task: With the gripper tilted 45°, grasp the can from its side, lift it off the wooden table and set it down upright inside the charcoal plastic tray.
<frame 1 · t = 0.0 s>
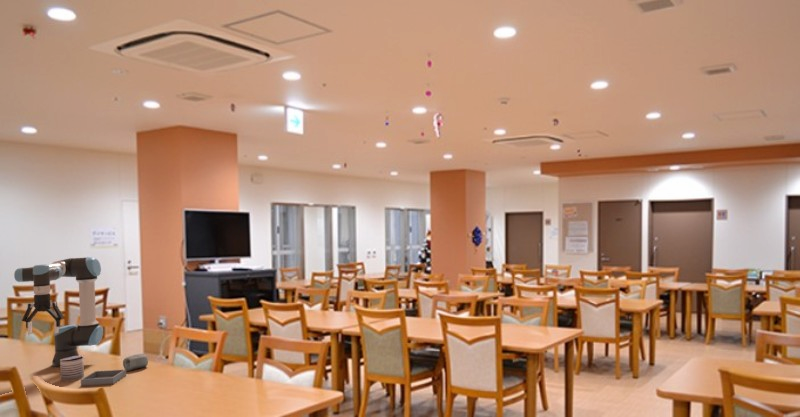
hand: (43, 333, 310), 28 cm above the table, fingers open, 13 cm apart
tray: (104, 380, 316), on the table
can: (72, 378, 323), on the table
spool: (135, 369, 339), on the table
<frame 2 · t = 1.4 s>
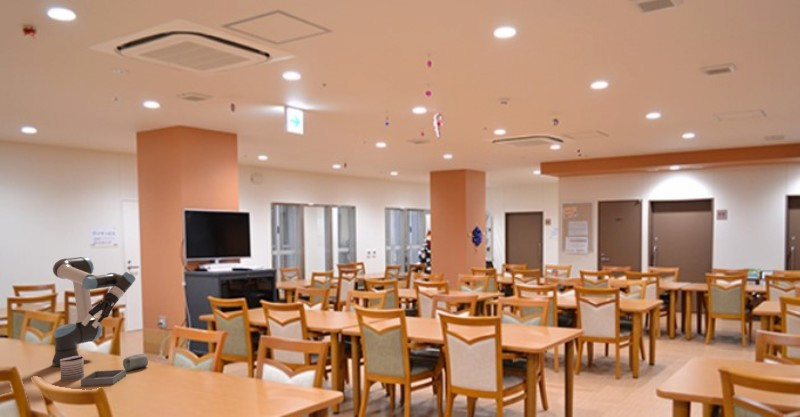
hand: (88, 325, 331), 28 cm above the table, fingers open, 13 cm apart
nothing on the table moved.
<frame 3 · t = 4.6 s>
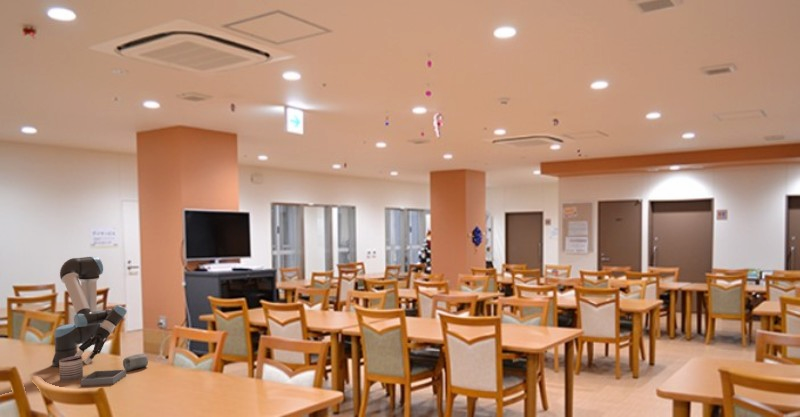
hand: (79, 362, 325), 8 cm above the table, fingers open, 13 cm apart
can: (71, 379, 323), on the table, touching gripper
everything else where it was.
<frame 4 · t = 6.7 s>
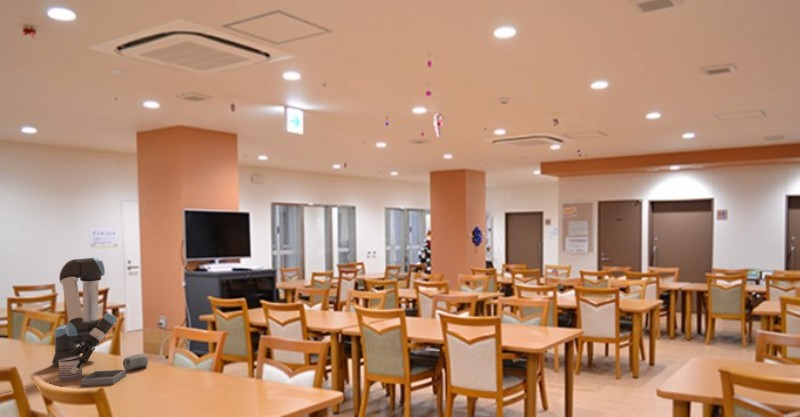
hand: (67, 371, 321), 5 cm above the table, fingers closed on can, 11 cm apart
can: (70, 379, 323), on the table, touching gripper
everything else where it was.
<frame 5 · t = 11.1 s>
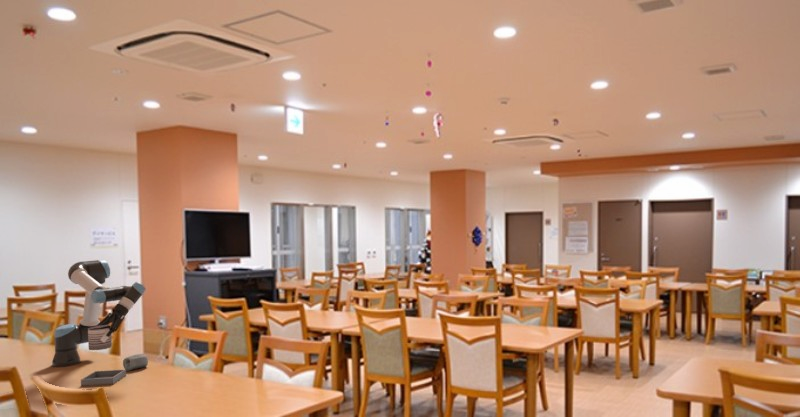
hand: (96, 340, 314), 23 cm above the table, fingers closed on can, 11 cm apart
can: (100, 348, 315), point 18 cm above the table, touching gripper
everything else where it was.
when the fingers open (6 cm above the table, at t = 15.2 s): can drops 1 cm, resting on tray.
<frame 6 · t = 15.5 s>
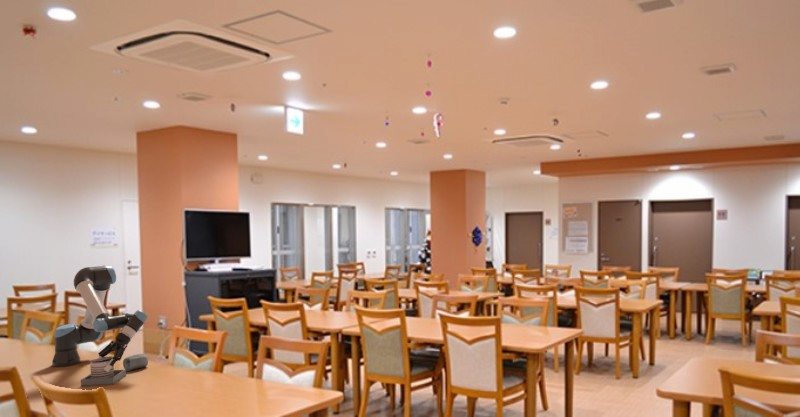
hand: (99, 369, 314), 7 cm above the table, fingers open, 13 cm apart
can: (102, 380, 315), resting on tray
everything else where it was.
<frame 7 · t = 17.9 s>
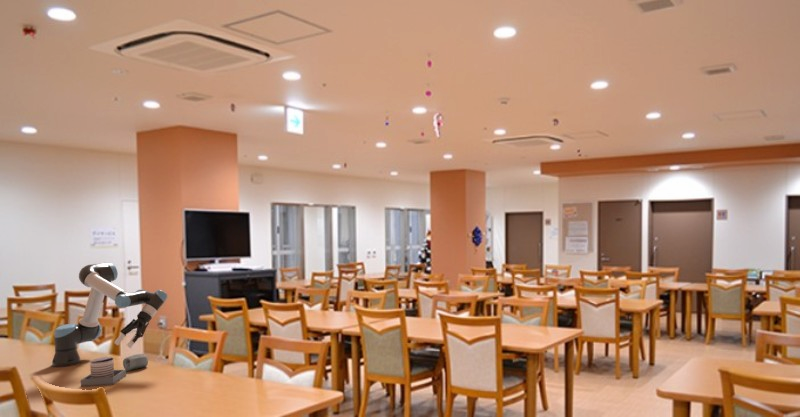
hand: (122, 345, 324), 17 cm above the table, fingers open, 13 cm apart
nothing on the table moved.
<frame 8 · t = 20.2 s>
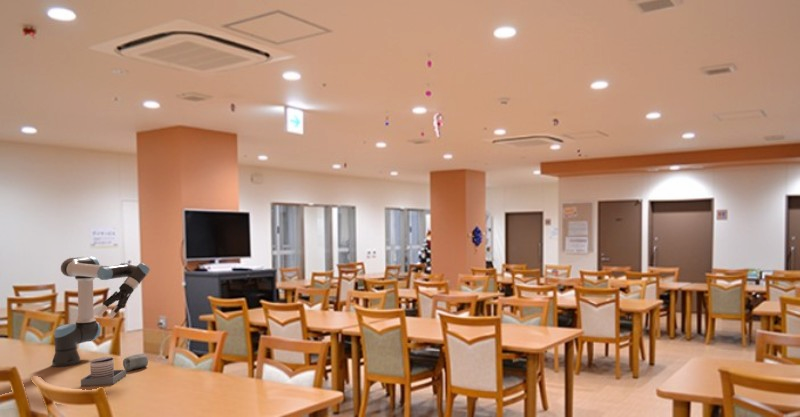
hand: (104, 316, 331), 33 cm above the table, fingers open, 13 cm apart
nothing on the table moved.
at the end: can inside the target area on the tray (0.9 cm from its centre), point 0.4 cm above the tray's base; can tilted 0°; the gripper is holding nothing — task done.
